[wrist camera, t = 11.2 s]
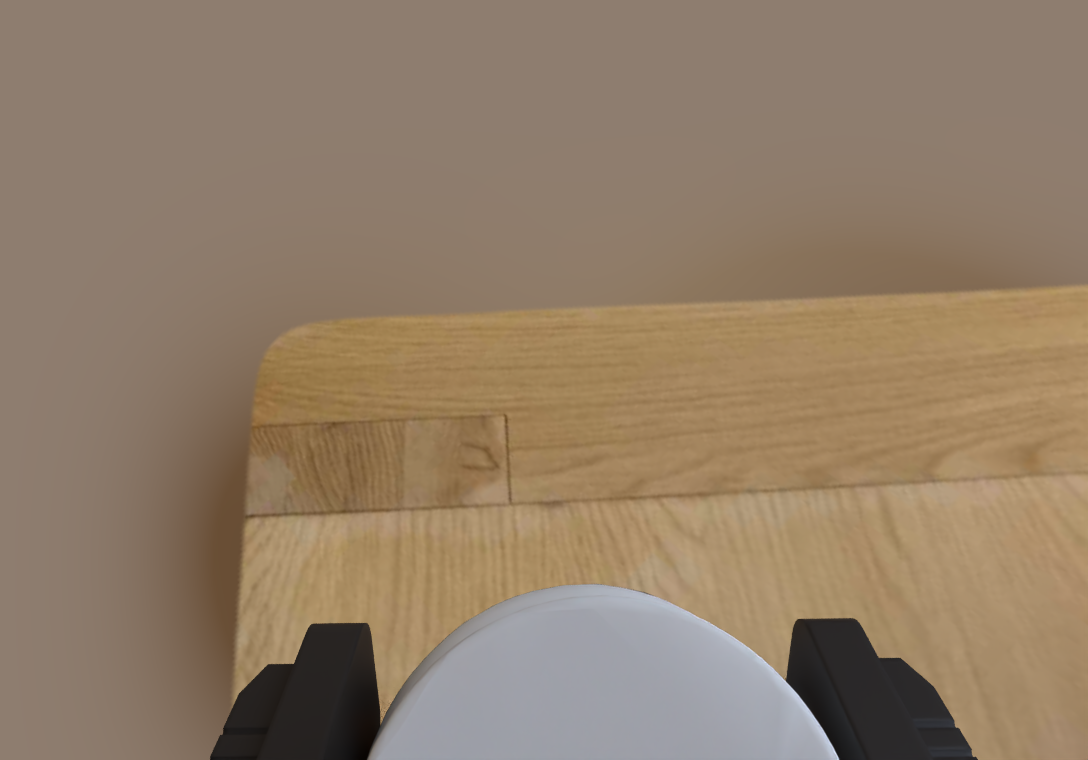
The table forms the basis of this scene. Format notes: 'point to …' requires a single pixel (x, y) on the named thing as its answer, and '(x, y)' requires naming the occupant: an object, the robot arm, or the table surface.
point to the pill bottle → (596, 688)
